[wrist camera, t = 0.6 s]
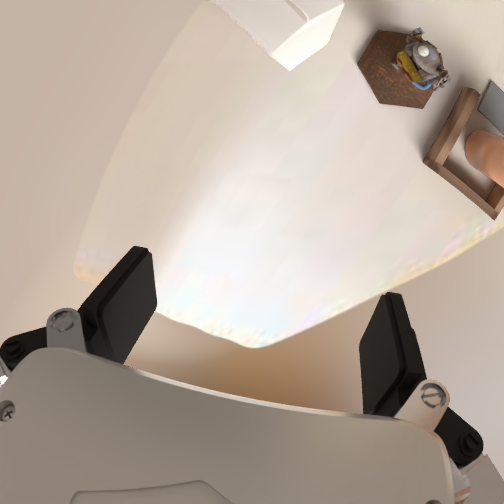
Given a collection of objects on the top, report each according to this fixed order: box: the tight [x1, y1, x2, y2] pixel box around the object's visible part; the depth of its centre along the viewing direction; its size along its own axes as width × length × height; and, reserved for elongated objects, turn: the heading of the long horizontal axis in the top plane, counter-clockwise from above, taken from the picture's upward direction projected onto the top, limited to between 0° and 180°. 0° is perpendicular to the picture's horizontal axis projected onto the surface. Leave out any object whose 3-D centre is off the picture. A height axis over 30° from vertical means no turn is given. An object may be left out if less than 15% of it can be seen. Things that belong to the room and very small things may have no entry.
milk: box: [211, 0, 345, 71], centre depth 20 cm, size 6×6×22 cm
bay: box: [423, 88, 504, 221], centre depth 29 cm, size 12×13×3 cm
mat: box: [477, 81, 504, 135], centre depth 26 cm, size 5×7×1 cm
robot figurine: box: [357, 27, 450, 109], centre depth 23 cm, size 11×9×12 cm
